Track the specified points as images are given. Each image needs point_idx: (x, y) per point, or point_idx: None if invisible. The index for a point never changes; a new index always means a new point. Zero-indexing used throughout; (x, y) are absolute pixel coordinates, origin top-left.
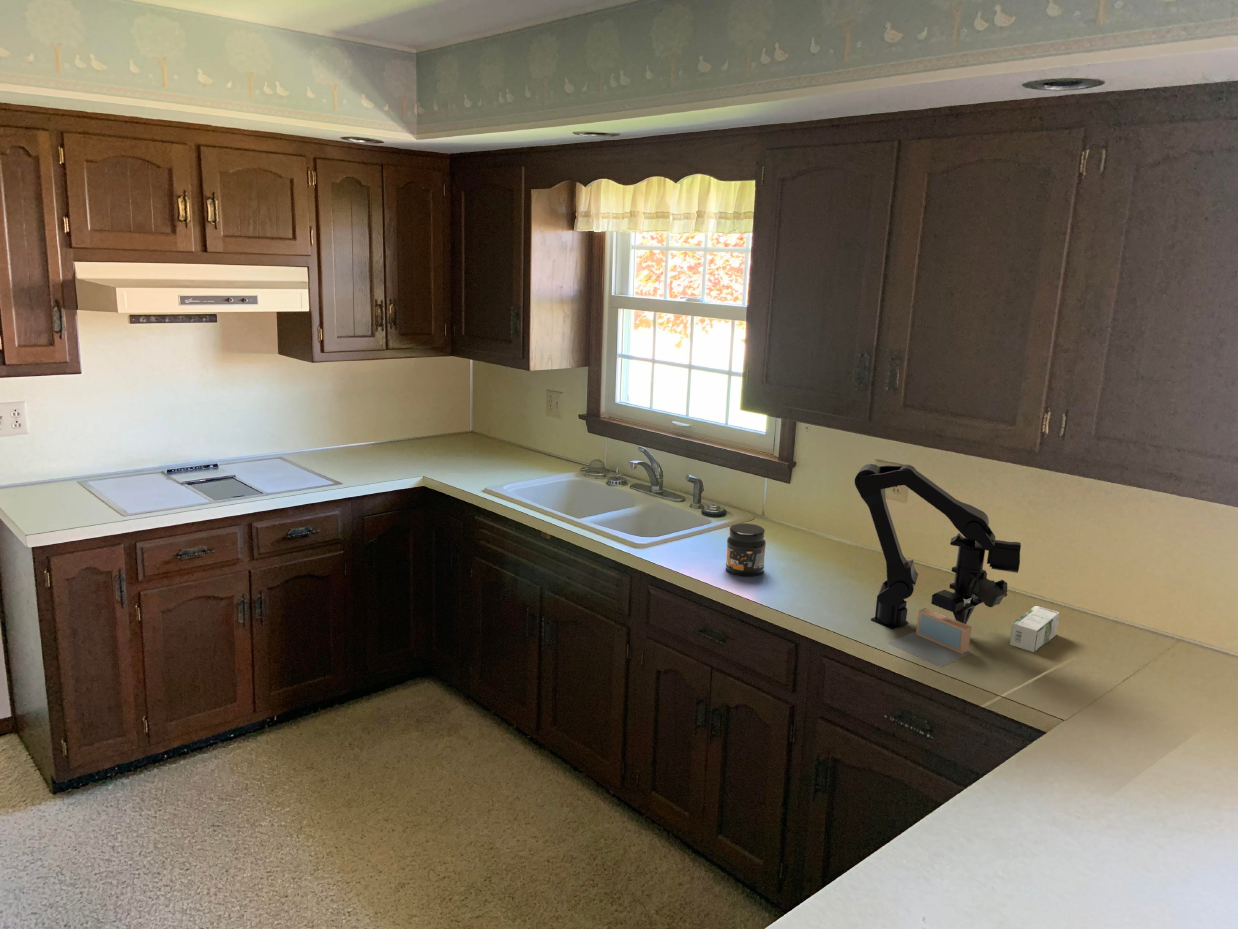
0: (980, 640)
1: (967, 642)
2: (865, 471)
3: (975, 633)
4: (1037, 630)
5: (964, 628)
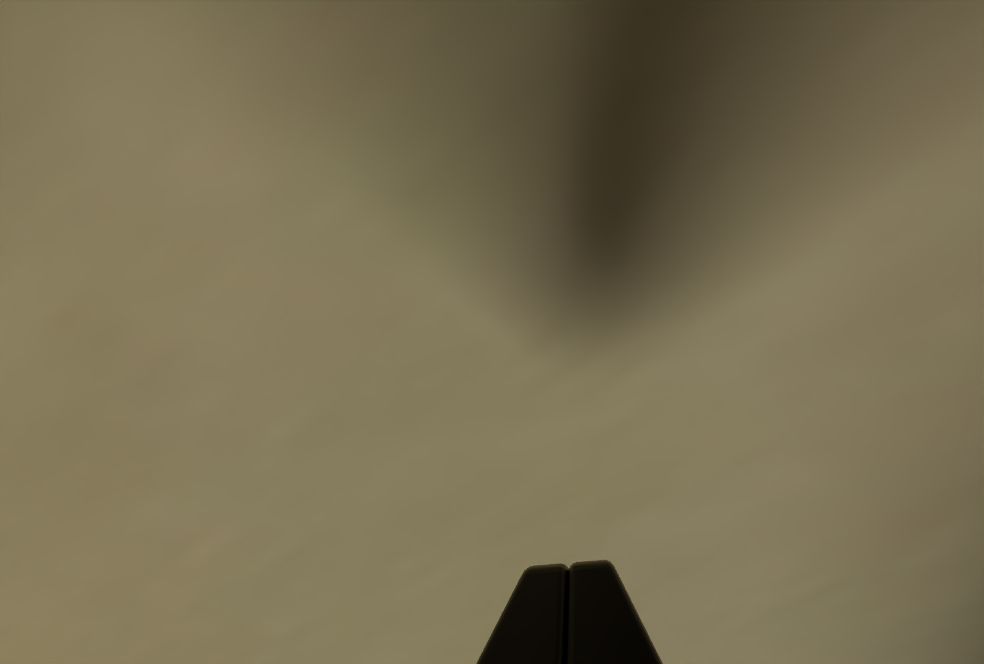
0: (319, 147)
1: None
2: None
3: (200, 398)
4: None
5: None
